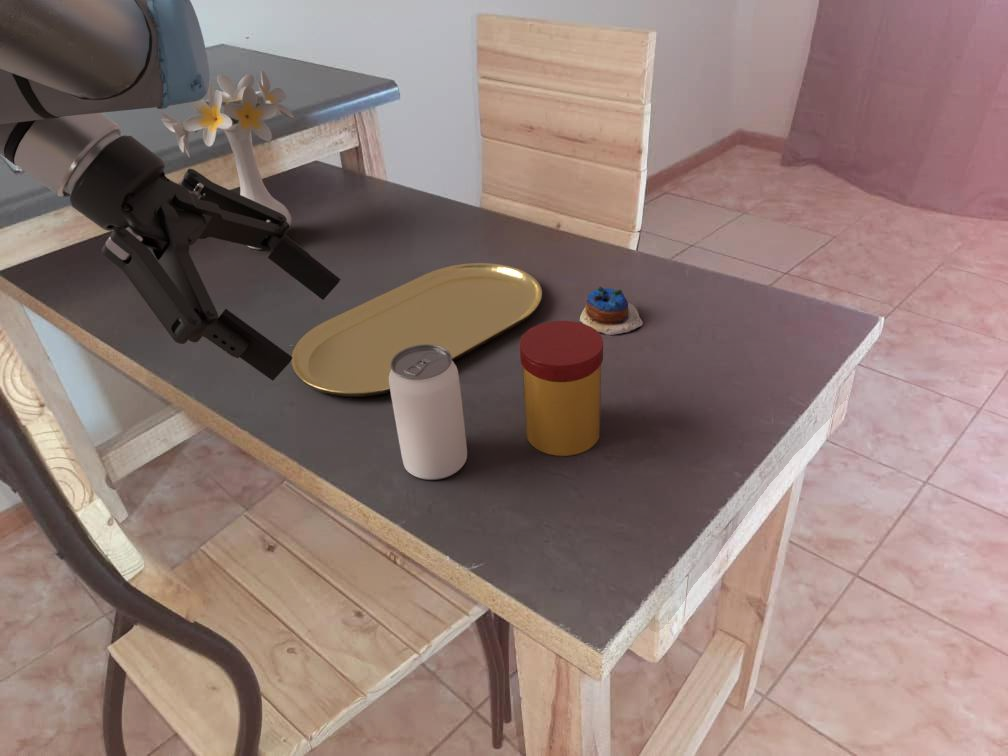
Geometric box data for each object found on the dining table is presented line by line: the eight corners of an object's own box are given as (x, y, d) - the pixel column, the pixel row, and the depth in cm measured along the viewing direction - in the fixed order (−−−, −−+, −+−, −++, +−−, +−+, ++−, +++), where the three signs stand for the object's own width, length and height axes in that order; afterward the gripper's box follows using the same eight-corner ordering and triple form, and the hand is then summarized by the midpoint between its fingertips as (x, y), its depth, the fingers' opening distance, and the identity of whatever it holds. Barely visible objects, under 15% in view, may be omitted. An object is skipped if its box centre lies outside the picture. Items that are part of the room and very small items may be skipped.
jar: (596, 459, 76) (597, 371, 70) (520, 453, 78) (515, 366, 72) (603, 412, 82) (604, 327, 76) (532, 407, 84) (528, 323, 78)
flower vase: (190, 253, 122) (138, 88, 107) (291, 214, 132) (255, 60, 117) (231, 277, 114) (181, 103, 99) (335, 234, 124) (303, 71, 110)
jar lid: (598, 384, 71) (599, 368, 70) (513, 379, 72) (512, 363, 71) (606, 338, 77) (606, 322, 76) (527, 333, 79) (527, 318, 78)
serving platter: (571, 301, 102) (571, 290, 101) (354, 425, 83) (351, 414, 82) (475, 260, 113) (474, 250, 113) (264, 362, 94) (261, 351, 93)
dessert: (564, 310, 99) (589, 270, 97) (597, 323, 103) (621, 284, 101) (601, 342, 93) (627, 300, 91) (634, 354, 98) (660, 314, 96)
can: (480, 451, 78) (470, 352, 71) (442, 491, 74) (428, 388, 67) (429, 432, 81) (414, 335, 74) (389, 469, 77) (371, 369, 70)
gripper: (150, 147, 75) (328, 285, 82) (-21, 266, 55) (233, 436, 62) (186, 90, 72) (369, 239, 78) (16, 194, 51) (282, 383, 58)
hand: (309, 326), depth 70 cm, fingers open, 13 cm apart
